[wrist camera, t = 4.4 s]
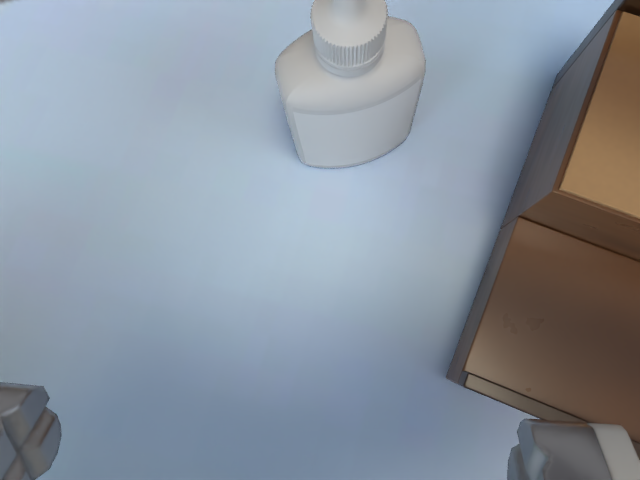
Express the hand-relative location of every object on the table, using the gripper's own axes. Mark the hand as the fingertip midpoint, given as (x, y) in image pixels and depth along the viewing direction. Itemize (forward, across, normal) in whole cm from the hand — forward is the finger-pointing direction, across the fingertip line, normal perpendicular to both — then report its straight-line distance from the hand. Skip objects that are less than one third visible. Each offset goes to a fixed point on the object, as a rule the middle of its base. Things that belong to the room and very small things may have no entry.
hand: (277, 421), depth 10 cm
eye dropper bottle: (+20, -1, +4) cm, 20 cm away
